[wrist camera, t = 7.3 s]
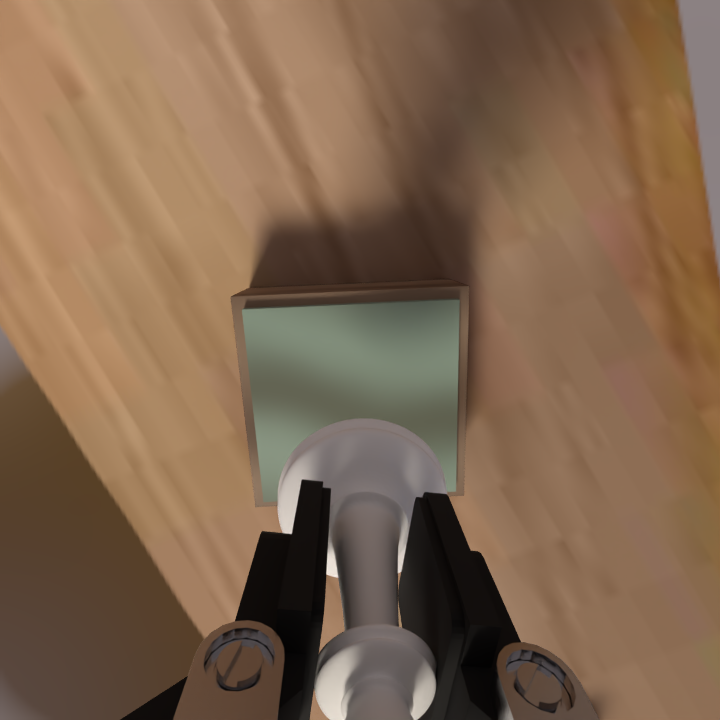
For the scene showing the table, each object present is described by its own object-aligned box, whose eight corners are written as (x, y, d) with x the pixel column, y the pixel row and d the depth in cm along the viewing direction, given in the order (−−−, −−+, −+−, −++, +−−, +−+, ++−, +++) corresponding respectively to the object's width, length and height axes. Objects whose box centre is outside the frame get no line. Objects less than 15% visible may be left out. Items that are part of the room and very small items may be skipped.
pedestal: (248, 287, 22) (228, 297, 18) (449, 279, 22) (472, 287, 18) (268, 469, 24) (253, 512, 20) (446, 459, 24) (466, 500, 21)
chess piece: (260, 434, 12) (-59, 1151, 3) (434, 403, 12) (782, 1019, 2) (297, 578, 13) (177, 1423, 4) (454, 551, 13) (738, 1340, 4)
